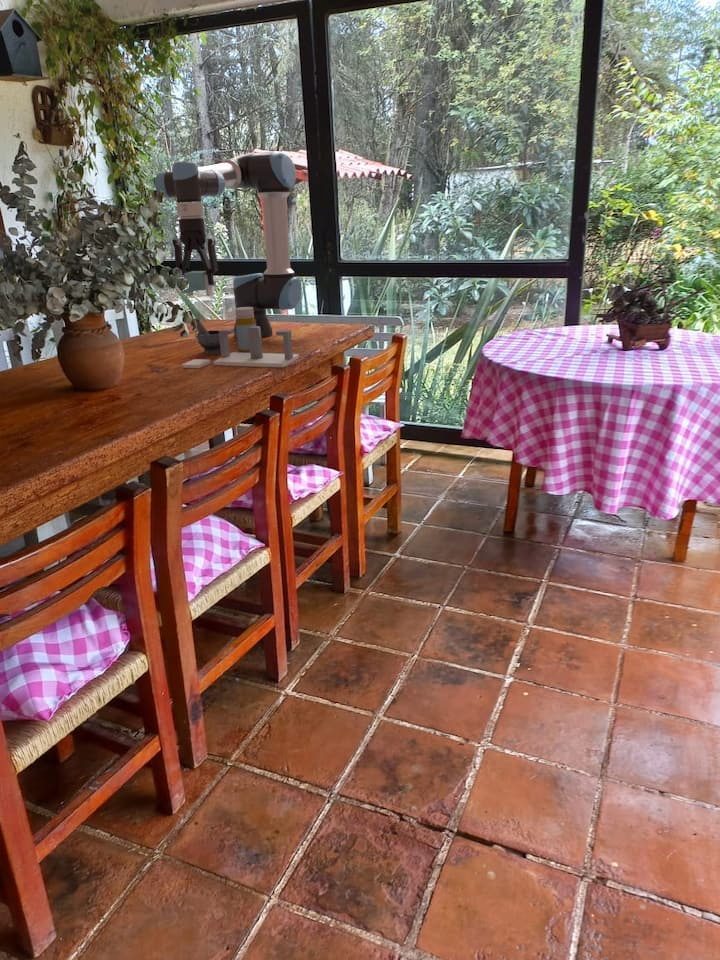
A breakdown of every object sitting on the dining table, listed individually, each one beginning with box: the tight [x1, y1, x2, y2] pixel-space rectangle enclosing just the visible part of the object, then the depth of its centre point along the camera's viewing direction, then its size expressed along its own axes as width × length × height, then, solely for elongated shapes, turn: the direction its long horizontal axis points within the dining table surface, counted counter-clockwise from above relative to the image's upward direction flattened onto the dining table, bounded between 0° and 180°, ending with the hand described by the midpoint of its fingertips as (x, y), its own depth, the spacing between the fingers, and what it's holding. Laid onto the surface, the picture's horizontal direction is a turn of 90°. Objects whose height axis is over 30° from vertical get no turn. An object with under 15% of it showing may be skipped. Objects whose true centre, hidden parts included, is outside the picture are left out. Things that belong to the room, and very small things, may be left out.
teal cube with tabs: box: [180, 270, 217, 294], centre depth 218 cm, size 6×19×5 cm, turn 165°
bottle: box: [234, 307, 256, 353], centre depth 243 cm, size 7×7×15 cm
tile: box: [181, 358, 212, 369], centre depth 228 cm, size 8×6×1 cm
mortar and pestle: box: [195, 317, 221, 355], centre depth 244 cm, size 11×9×12 cm
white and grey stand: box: [213, 326, 300, 368], centre depth 228 cm, size 14×24×11 cm, turn 73°
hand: (200, 295), depth 220 cm, fingers closed on teal cube with tabs, 6 cm apart
